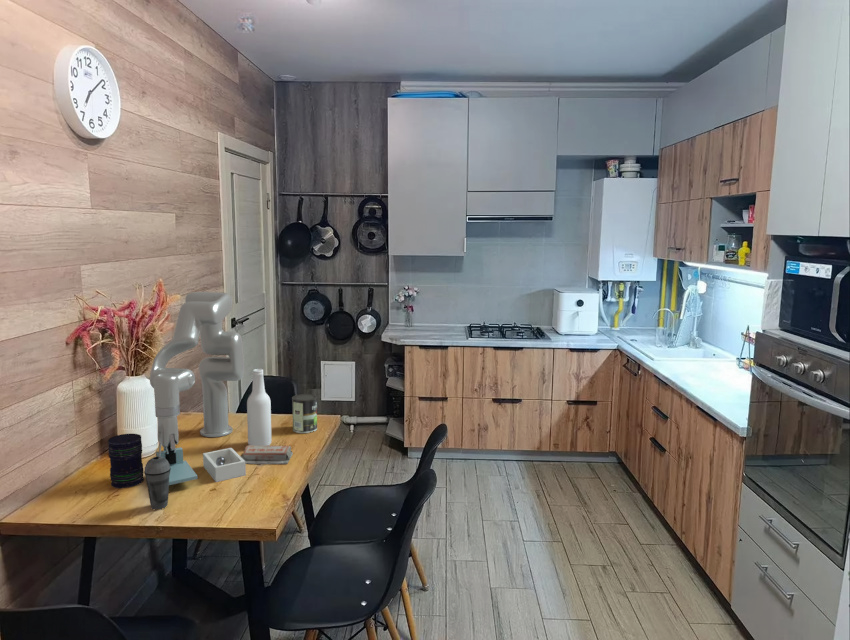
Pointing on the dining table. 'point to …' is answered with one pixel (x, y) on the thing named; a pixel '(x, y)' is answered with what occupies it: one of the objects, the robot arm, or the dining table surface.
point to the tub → (231, 467)
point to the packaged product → (267, 454)
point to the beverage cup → (158, 481)
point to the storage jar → (126, 460)
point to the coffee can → (304, 413)
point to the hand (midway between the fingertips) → (170, 462)
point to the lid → (179, 468)
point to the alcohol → (259, 412)
